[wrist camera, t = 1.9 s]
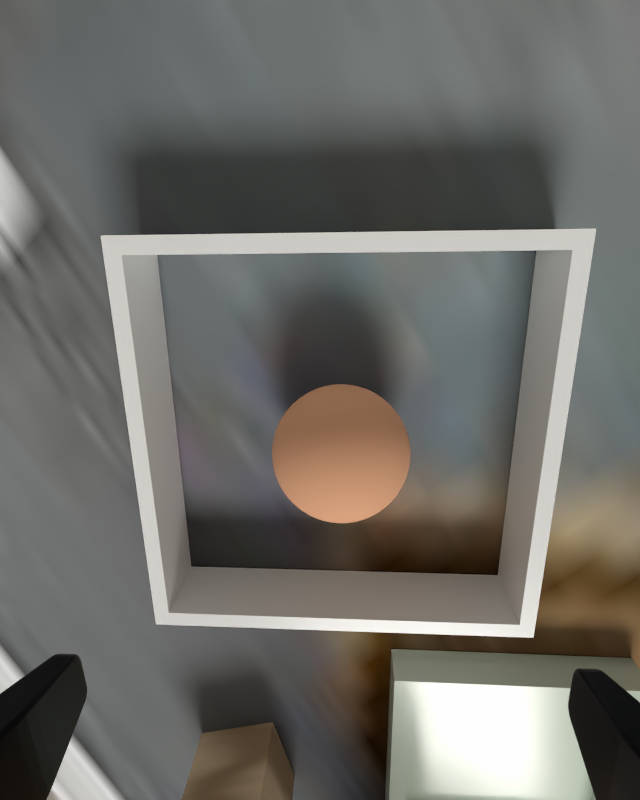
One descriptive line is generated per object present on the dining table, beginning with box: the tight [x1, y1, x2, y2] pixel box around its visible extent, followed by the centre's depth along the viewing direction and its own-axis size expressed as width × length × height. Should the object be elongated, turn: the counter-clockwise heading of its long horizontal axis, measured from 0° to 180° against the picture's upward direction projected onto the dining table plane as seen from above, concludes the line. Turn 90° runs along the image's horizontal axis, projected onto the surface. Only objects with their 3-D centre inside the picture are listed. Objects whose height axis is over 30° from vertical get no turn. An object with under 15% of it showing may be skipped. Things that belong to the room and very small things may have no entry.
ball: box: [272, 384, 410, 523], centre depth 18 cm, size 5×5×5 cm
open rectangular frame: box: [101, 229, 596, 638], centre depth 19 cm, size 15×15×3 cm
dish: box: [385, 649, 640, 800], centre depth 24 cm, size 11×11×2 cm
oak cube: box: [182, 722, 295, 800], centre depth 25 cm, size 4×4×4 cm
